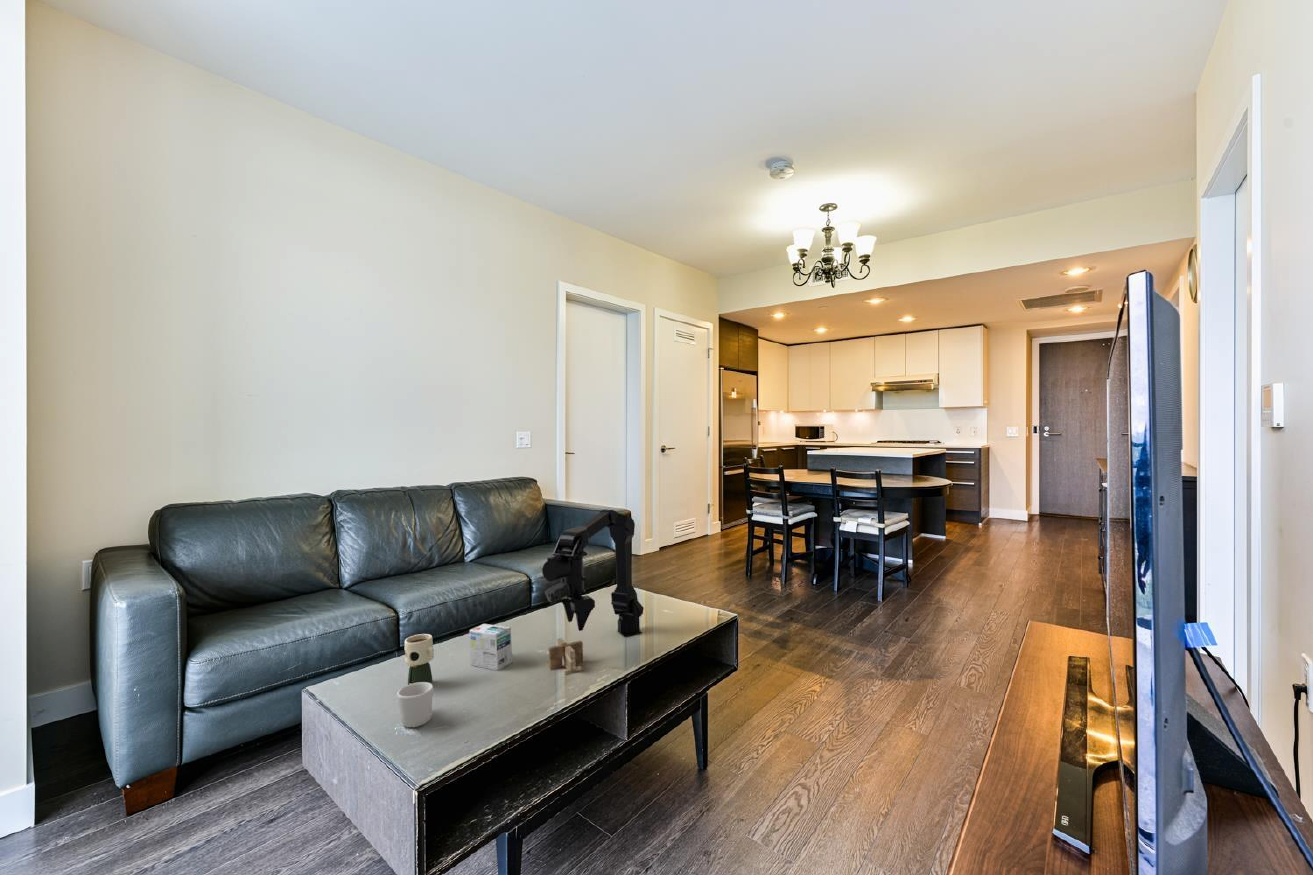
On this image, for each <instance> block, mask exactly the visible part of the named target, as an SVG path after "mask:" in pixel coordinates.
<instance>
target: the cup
mask: <svg viewBox="0 0 1313 875" xmlns="http://www.w3.org/2000/svg"><path fill="white" fill-rule="evenodd" d="M433 697H434V685H433V684H432V682H431V683H427V682H418V683H413V684H409V685H408V684H407V685H404V686H402V687H401V688H400V689H399V690H398V691H397V693H396V698H397V699H396V700H397V705H398V710H399V711H398V712H399V717H400V722H401V724H402V725H403V727H405V728H408V727H413V728H417V727H422V726H424V725H425V724H426V723H428V722H429V721H430V719H431V718H432V711H433Z"/></svg>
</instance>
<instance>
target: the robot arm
mask: <svg viewBox="0 0 1313 875" xmlns="http://www.w3.org/2000/svg"><path fill="white" fill-rule="evenodd" d="M635 525H636V523H635V520H634V519H633V518H632V517H630V516H627V515H625V514H622V513H619V512H618V511H616V510H614V509H601V510H600V511H599V512H598V513H597V514H595V515H594V516H593V517H591V518H589V519H588V520H587V521H585V522H584V523H582V524H581V525H578V526H577V527H571V528H568V529H565V530H562V532H561V533H560V536H559V538H558V541H557V543H556V545H555V547H554V548H553V552H552V555H551V556H550V555H549V556H547V557H546V558H547V560H546V562H544V564H543V566H542V569H541V573H542V576H543V578H544V579H545V581H548V582H550V583H552V582H554V581H558V580H560V582H559V583H556V584H554V585H553V586H551V587H548V588H547V589H545V590H544V594H545V597H546V598H547V601H548V602H550V604H551V605H553V604H557V602H558V601H559V602H560V603H561V604H562V605H563V609H564V611H565V615H566V618H567V622H568V623H571V622H572V621H573V619H574V616H575V619H576V624H577V629H578V631H579V632H582V631H583V630H584V628H585V625H586V623H587V620H588V619H589V616H590V614H591V612H592V611H593V610H594V609H595V608H596V601H595V599H593V598H592V597H591V596H589V594H588V595H587V590H585V586H584V585H585V584H584V582H585V581H586V580H587V577H586V576H584V558H583V557H586V556H588V553H587V552H586V551H585V548H586V547H587V546H588V545H589V544H590V539H591V538H593V537H594V536H595V535H597V534H598V533H599V532H601V531H602V530H603V529H604V528H608V531H609V535H610V537H611V539H612V541H613V543H614V544H615V545H614V550H615V568H616V569H615V570H616V571H615V572H616V587H615V589H614V591H612V592H611V593H610V596H611V602H610V604H611V605H612V608H613V612H614V615H616V616H617V615H618V619H617V630H616V632H618V633H619V634H620V635H621V636H623V637H626V638H627V637H630V636H634V635H639V634H642V633H643V632H642V630H640V626H641V625H640V617H642V615H643V614H644V606H643V605H642V604H641V603H640V602H639V600H638V593H637V591H636V589H635V588H634V586H633V585H632V584H633V583H632V563H631V561H632V560H631V558H632V557H631V541H632V540H633V538H634V535H635V527H636V526H635Z"/></svg>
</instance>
